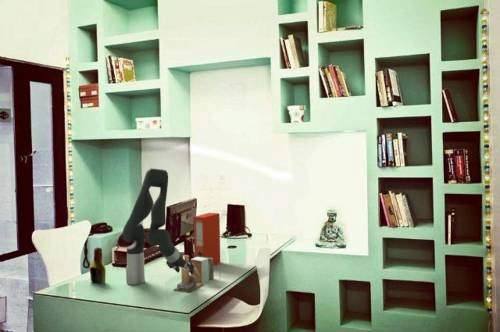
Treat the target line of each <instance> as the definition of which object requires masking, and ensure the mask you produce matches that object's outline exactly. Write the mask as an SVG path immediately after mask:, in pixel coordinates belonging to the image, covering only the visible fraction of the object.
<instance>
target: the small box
mask: <svg viewBox="0 0 500 332" xmlns="http://www.w3.org/2000/svg"><path fill="white" fill-rule="evenodd" d="M190 262H191V263H192V264H193V265H194V269H193V270H194V272H193V274H191V273H190V275H195V276H196V282H198V283H203V284H205V283H208V282H209V281H210V279H209V268H208V258H202V257H195V258H194V257H193V258H191V259H190Z"/></svg>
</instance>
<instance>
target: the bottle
mask: <svg viewBox="0 0 500 332" xmlns="http://www.w3.org/2000/svg"><path fill="white" fill-rule="evenodd" d="M106 271H107V269H106V266H105V263H104V262H103V248H102V247H95V248H94V249H93V261H92V262H91V263H90V266H89V273H90V276H89V277H90V281H91V282H93V283H95V284H99V285H101V284H104V283H106V276H107V275H106V273H107V272H106Z"/></svg>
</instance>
